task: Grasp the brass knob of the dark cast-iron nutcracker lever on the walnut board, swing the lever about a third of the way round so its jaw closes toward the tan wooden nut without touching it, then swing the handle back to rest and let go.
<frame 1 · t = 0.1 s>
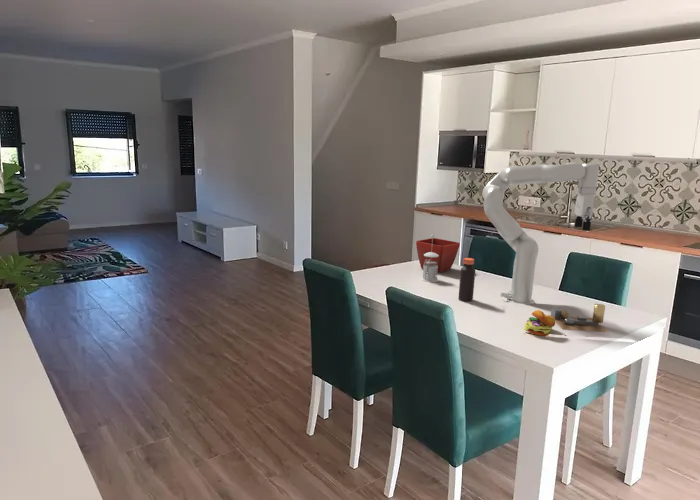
hand: (581, 228, 233), 37 cm above the table, tool pointing down, fingers open, 9 cm apart
bottle: (465, 300, 243), on the table
lever: (584, 314, 209), point 6 cm above the table, hinge at 0.0°
cheeseburger: (537, 333, 202), on the table
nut: (563, 318, 217), point 1 cm above the table, touching board
board: (577, 326, 211), on the table
anvil: (555, 317, 217), resting on board
plant pot: (436, 269, 302), on the table
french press: (428, 280, 278), on the table
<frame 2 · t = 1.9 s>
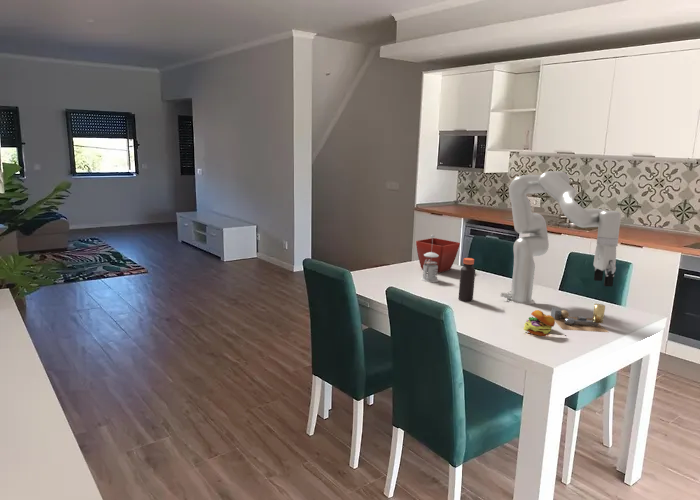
hand: (602, 283, 206), 19 cm above the table, tool pointing down, fingers open, 9 cm apart
nothing on the table moved.
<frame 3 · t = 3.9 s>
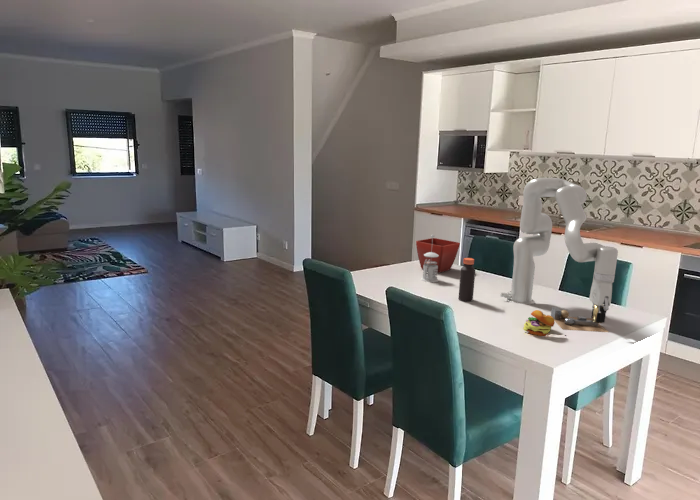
hand: (597, 319, 208), 4 cm above the table, tool pointing down, fingers closed on lever, 4 cm apart
lever: (584, 314, 209), point 6 cm above the table, hinge at 0.0°, touching gripper
everything else where it was.
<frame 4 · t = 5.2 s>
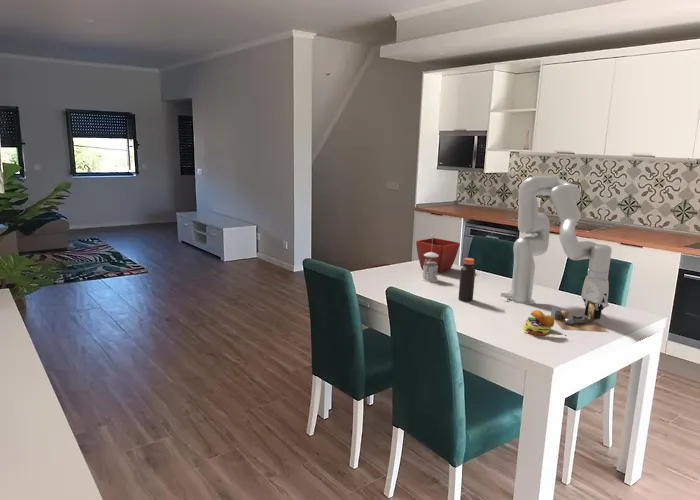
hand: (592, 316, 212), 4 cm above the table, tool pointing down, fingers closed on lever, 4 cm apart
lever: (581, 312, 211), point 6 cm above the table, hinge at 20.7°, touching gripper
everything else where it was.
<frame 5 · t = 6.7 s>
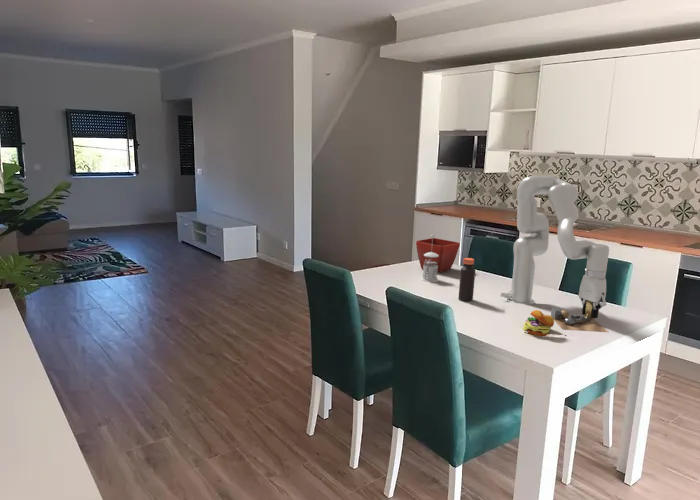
hand: (589, 315, 214), 4 cm above the table, tool pointing down, fingers closed on lever, 4 cm apart
lever: (579, 312, 212), point 6 cm above the table, hinge at 28.0°, touching gripper
everything else where it was.
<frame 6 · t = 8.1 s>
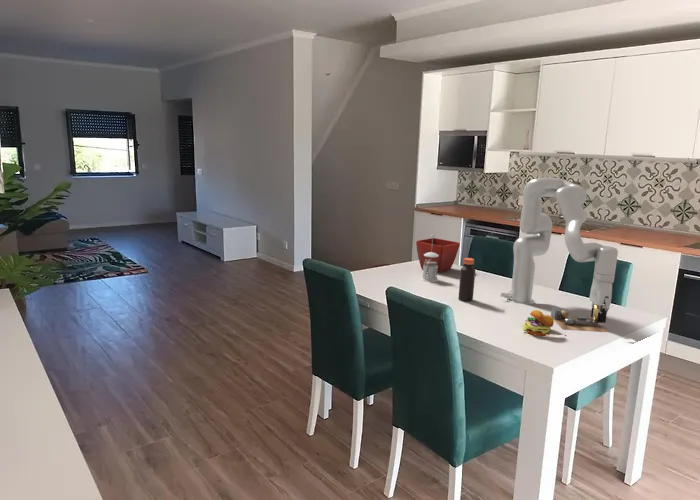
hand: (597, 319, 208), 4 cm above the table, tool pointing down, fingers open, 5 cm apart
lever: (583, 313, 209), point 6 cm above the table, hinge at 1.3°
everything else where it was.
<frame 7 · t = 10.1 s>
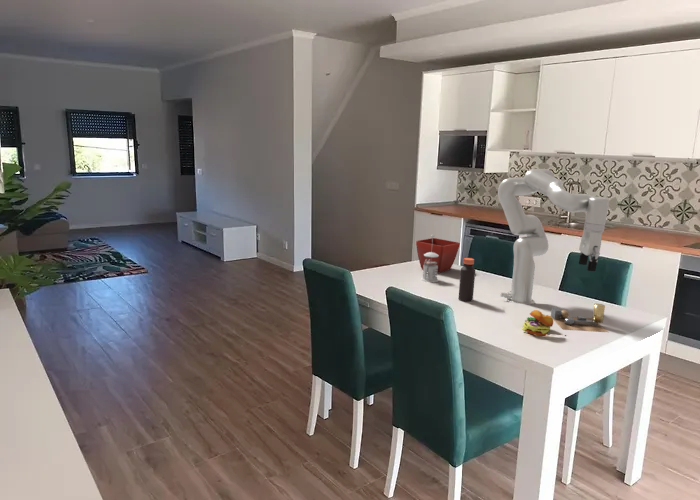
hand: (586, 267, 212), 24 cm above the table, tool pointing down, fingers open, 9 cm apart
nothing on the table moved.
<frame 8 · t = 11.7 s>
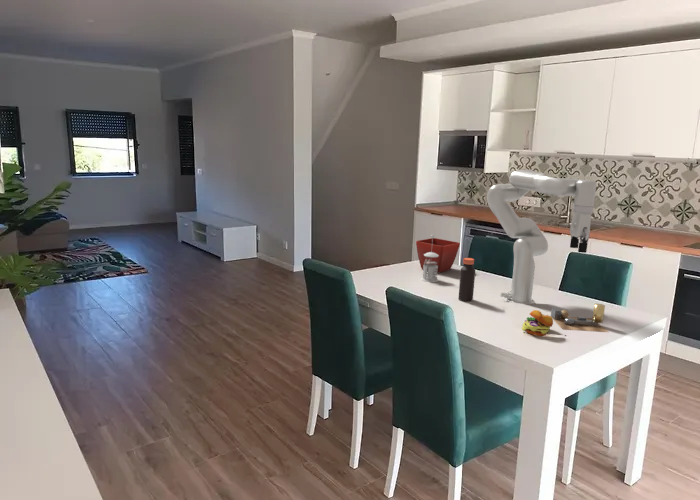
hand: (577, 250, 215), 30 cm above the table, tool pointing down, fingers open, 9 cm apart
nothing on the table moved.
at the end: lever at +1° (first picture: +0°); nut moved 0.1 cm from its start; the gripper is holding nothing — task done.
